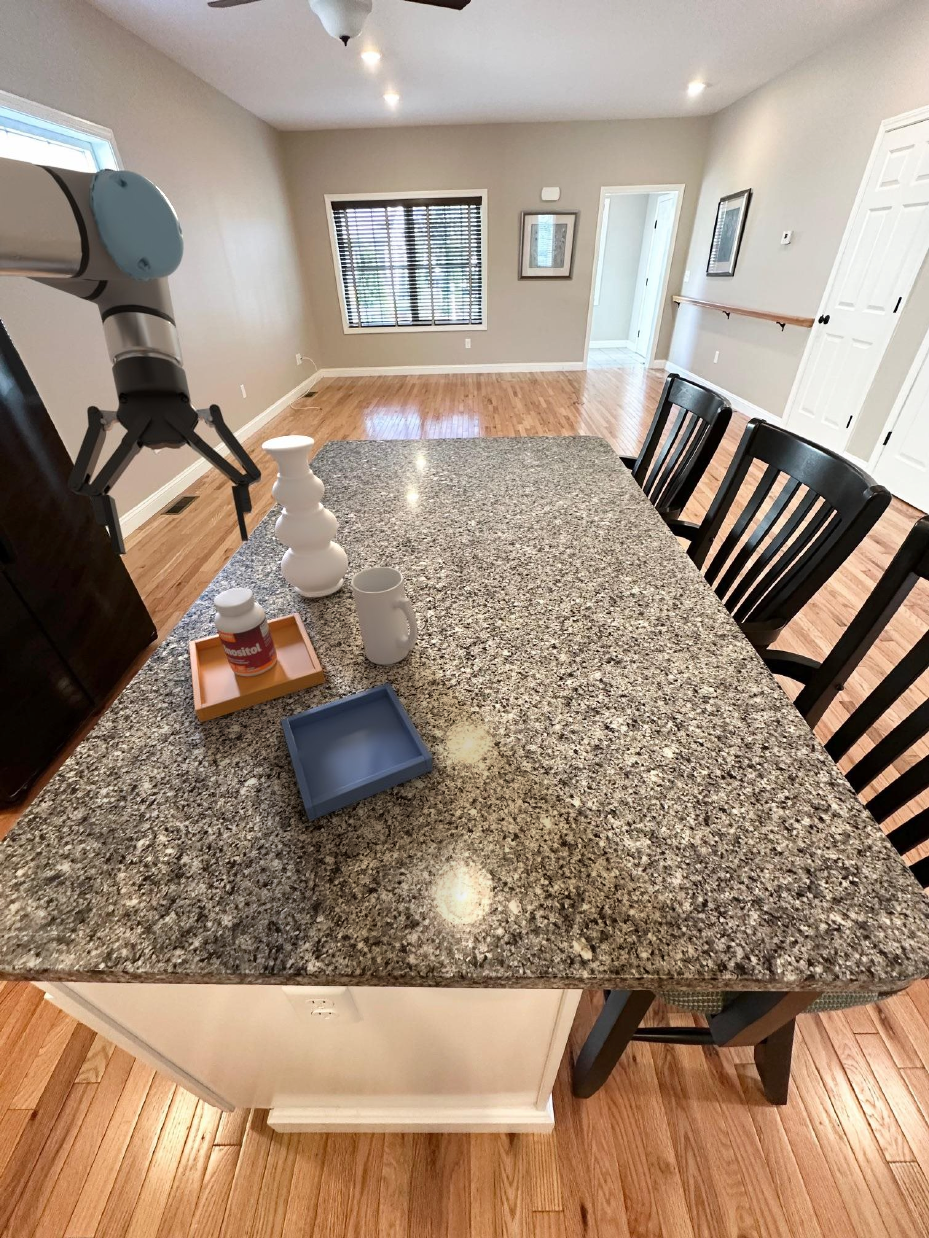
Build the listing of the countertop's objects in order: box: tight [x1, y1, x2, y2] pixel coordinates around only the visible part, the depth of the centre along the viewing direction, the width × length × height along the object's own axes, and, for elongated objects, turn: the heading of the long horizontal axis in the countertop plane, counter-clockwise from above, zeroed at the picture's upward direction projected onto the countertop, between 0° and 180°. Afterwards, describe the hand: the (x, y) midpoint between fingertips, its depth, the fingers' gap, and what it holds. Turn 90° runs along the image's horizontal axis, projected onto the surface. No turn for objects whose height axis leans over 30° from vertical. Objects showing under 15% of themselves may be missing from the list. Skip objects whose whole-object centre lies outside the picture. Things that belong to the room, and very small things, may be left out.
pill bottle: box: [213, 587, 277, 676], centre depth 68 cm, size 6×6×11 cm
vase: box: [261, 435, 349, 598], centre depth 82 cm, size 11×11×25 cm
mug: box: [350, 566, 419, 666], centre depth 69 cm, size 10×7×12 cm, turn 49°
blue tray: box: [280, 682, 434, 822], centre depth 58 cm, size 14×14×2 cm
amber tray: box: [188, 612, 326, 723], centre depth 71 cm, size 16×16×2 cm
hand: (185, 546), depth 62 cm, fingers open, 13 cm apart
